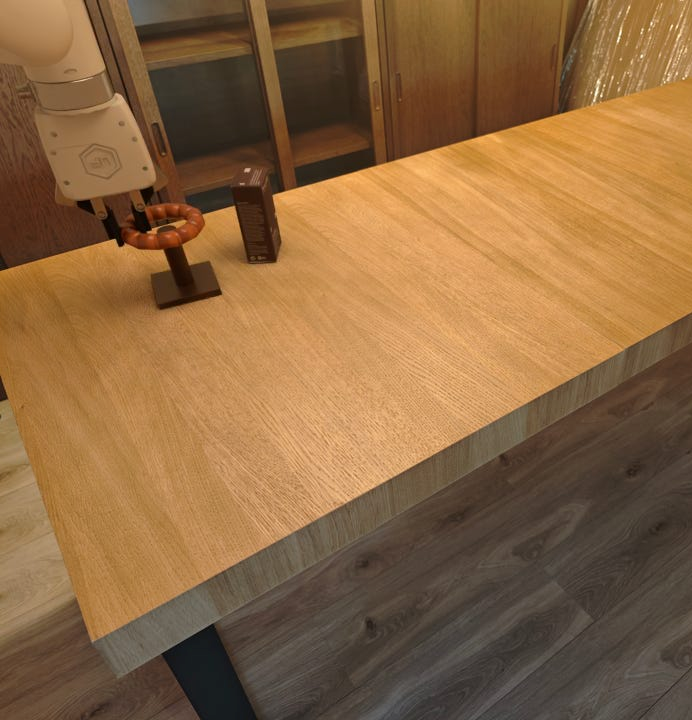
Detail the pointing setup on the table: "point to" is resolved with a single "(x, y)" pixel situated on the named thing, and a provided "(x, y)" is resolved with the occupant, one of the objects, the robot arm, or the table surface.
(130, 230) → the ring
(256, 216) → the box
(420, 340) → the table surface
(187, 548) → the table surface
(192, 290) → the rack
